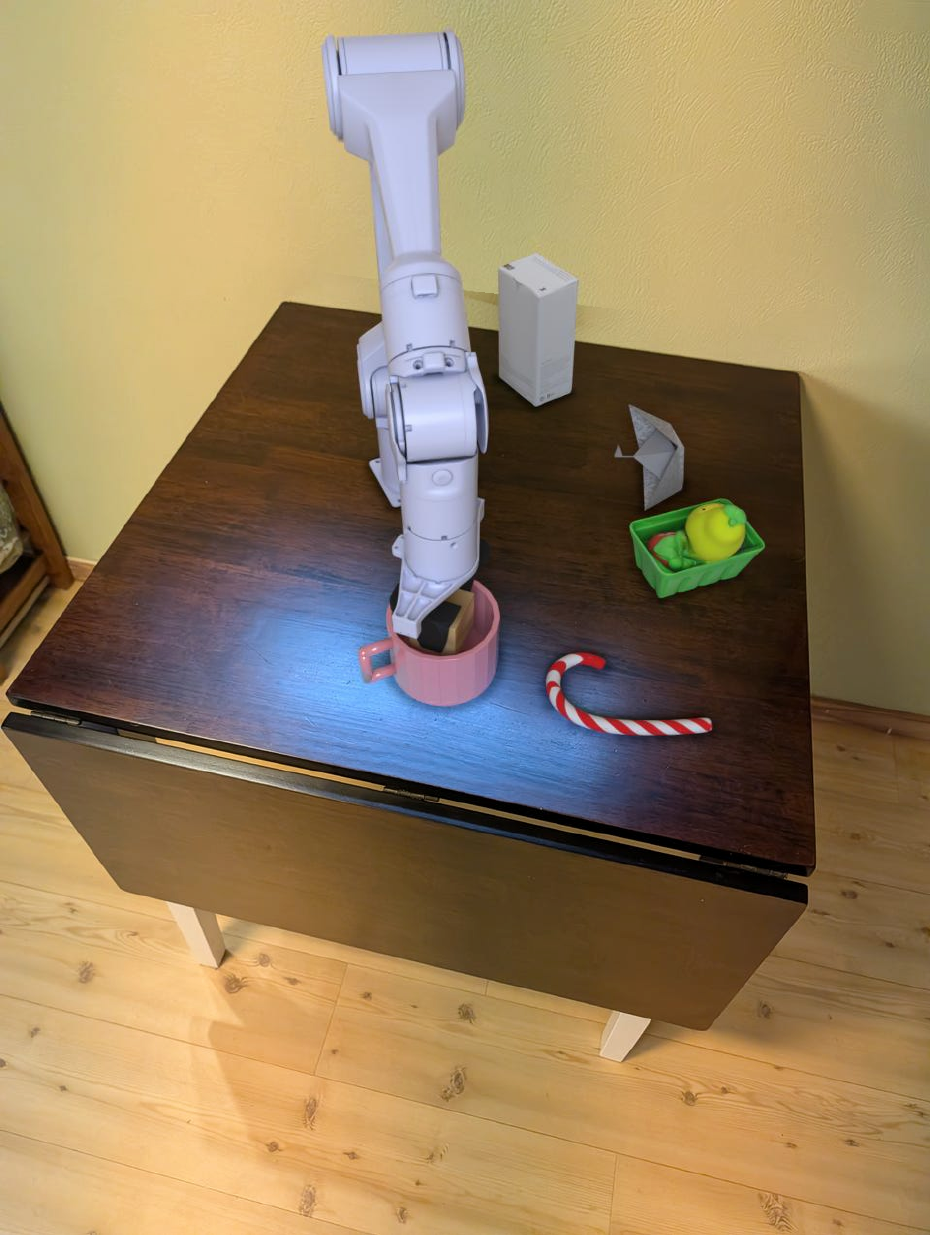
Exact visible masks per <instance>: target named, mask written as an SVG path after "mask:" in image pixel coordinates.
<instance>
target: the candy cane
mask: <svg viewBox="0 0 930 1235" xmlns="http://www.w3.org/2000/svg"><path fill="white" fill-rule="evenodd" d="M606 663H607V661H606V659H605V658H603V657H601V656H599V655H596V654H593V653H589V652H581V651H579V652H572V653H569V654H566V655H564V656H562V657H560V658H558V659H557V660H556V661H555V662H553V664H552V665H551V666H550V668H549V670H548V672H547V674H546V679H545V689H546V694H547V697H548V699H549V701H550V703H551V705H552V706H553V708H554V709H555V710H556V711H557V712H558V713H559V714H560V715H562V717H564V718H565V719H567V720H568V721H569V722H571V723H573V724H575V725H577V726H580V727H582V728H586V729H588V730H592V731H595V732H599V733H605V734H612V735H625V736H677V735H679V736H680V735H693V734H702V733H708V732H710V731H712V730H713V722H712V720H711V719H710V718H709V717H694V718H693V717H692V718H680V719H660V720H659V719H656V720H652V719H651V720H650V719H647V720H646V719H620V718H610V717H603V716H599V715H594V714H591V713H588V712H586V711H583V710H581V709H579V708H578V707H576V706H575V705H573V704H572V703H571V702H569V700H567V698H566V697H565V696H564V694H563V691H562V688H561V680H562V677H563V674H564V673H565V672H566V671H567V670H568V669H570V668H572V667H574V666H579V665H584V666H588V667H591V668H594V669H596V670H603V669H604V667H605V665H606Z"/></svg>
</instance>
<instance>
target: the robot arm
mask: <svg viewBox="0 0 930 1235" xmlns="http://www.w3.org/2000/svg"><path fill="white" fill-rule="evenodd" d="M335 38H336V39H335ZM461 41H462V40H460V37H459V36H458V35H457V34H456V33H455V31H454V30H453V29H452V28H444V29H443V30H442V31H427V32H426V31H425V32H406V33H386V34H367V35H366V34H365V35H348V36H347V35H346V36H336V37H335V34H327V35H326V36H325V40H323V42H322V43H321V44H320V52H321V60H322V70H323V78H324V87H325V96H326V102H327V104H326V105H327V113H328V121H329V130H330V131H331V132H332V135H333V136H334V137H336V142H339V143H342V144H343V148H344V151H345V152H346V153H348V154H350V155H353V156H355V157H357V158H359V159H360V160H363V161H366V162H367V164H368V173H369V174H368V175H369V186H370V197H371V198H370V199H371V209H372V221H373V232H374V243H375V255H376V267H377V278H378V286H377V287H378V296H379V303H380V305H379V306H380V311H381V312H380V314H381V321H380V322H379V323H377V324H376V325H375V326H373V327H372V328H370V329H369V330H368V331H366V332H364V333H363V334H362V335H361V336H360V337H359V338H358V343H357V344H356V351H357V352H356V353H357V360H356V364H357V365H356V366H357V372H358V382H359V389H360V399H361V407H362V414H363V415H364V416H365V417H367V419H368V420H372V419H374V420H375V427H376V431H377V432H376V433H377V441H378V454H379V458H375V459H372V460H370V461H369V462H368V466H369V468H370V469H371V471H372V473H373V475H374V476H375V479H376V481H377V482H378V484H379V486H380V487H381V489H382V491H383V492H384V494H385V496H386V497H387V499H388V501H389V503H390V505H391V506H392V507H394V508H399V507H400V510H401V511H400V512H401V521H402V522H401V524H402V534H400V535H399V536H397V538H396V539H395V541H394V543H393V544H392V545H391V554H392V555H393V556H394V557H396V558H399V559H401V566H400V576H399V577H400V578H399V582H398V583H397V584H396V586H395V587H394V588H393V591H392V593H391V594H390V596H389V600H388V602H389V603H390V608H391V610H392V611H393V612H394V613H393V615H392V622H393V631H394V632H396V633H399V634H402V635H405V636H408V637H412V638H415V639H417V641H418V643H419V645H420V646H421V647H422V648H425V649H428V650H431V651H434V652H437V653H442V651H443V649H444V647H445V645H446V643H447V639H448V634H449V628H450V626H451V625H452V624H453V622H454V621H455V619H456V617H457V615H458V613H459V611H460V609H461V607H462V606H460V605H457V604H454V603H450V602H447V601H444V600H445V599H446V598H448V597H449V596H450V595H451V594H452V593H453V592H455V591H456V590H457V589H461V590H465V591H468V592H471V589H472V586H473V583H474V580H476V576H477V574H478V572H479V571H480V569H481V568H482V567H483V566H484V565H485V563H486V561H487V559H488V557H489V555H490V553H491V544H490V542H489V541H487V540H486V539H483V538H481V537H480V532H481V522H482V520H483V519H484V516H485V499H484V498H481V497H478V488H479V487H478V486H479V484H478V481H479V449H480V451H481V453H482V454H485V453H486V452H487V448H488V442H489V441H488V440H489V430H490V429H489V426H490V425H489V407H488V399H487V393H486V388H485V385H484V381H483V377H482V375H481V371H480V368H479V362H478V357H477V354H476V351H472V348H471V340H470V339H471V338H470V333H469V324H468V316H467V307H466V300H465V291H464V285H463V277H462V275H461V272H460V271H459V269H458V268H457V267H456V266H454V265H453V264H452V263H451V262H449V261H448V260H447V259H446V258H445V257H444V256H443V255H442V238H441V237H442V235H441V232H442V230H441V210H440V207H441V206H440V185H439V184H440V183H439V182H440V181H439V159H438V158H439V157H440V156H441V155H442V154H444V153H445V152H446V151H448V150H449V149H451V148H452V147H453V146H455V144H456V138H457V132H458V130H459V128H460V126H461V125H462V124H463V122H464V120H465V114H466V93H467V92H466V68H465V59H464V58H465V57H464V50H463V45H462V42H461ZM477 442H478V444H477ZM478 446H479V448H478Z"/></svg>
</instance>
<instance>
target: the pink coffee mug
mask: <svg viewBox="0 0 930 1235" xmlns="http://www.w3.org/2000/svg"><path fill="white" fill-rule="evenodd" d="M471 592H472V593H474V625H473V627H472V629H471V631H470V633H469V635H468V637H467V639H466V641H465V643H464V645H463V647H462V649H461V651H460V653H459V654H457V655H449V656H439V655H436V654H433V653H429V652H426V651H423V650H420V649H417V648H414V647H411V646H410V641H409V637H408V636H405V635H402V634H399V633H396V632H394V631H393V622H392V615H393V613H394V612H393V611H392V610H391V608H390V602H389V603H388V605H387V609H386V612H385V620H386V631H387V637H386V638H383V639H380V640H378V641H375V642H372V643H369V644H366V645H363V646H360V647H359V648H358V650H357V656H358V661H359V667H360V674H361V679H362V682H363V683H364V684H366V685H369V684H372V683H375V682H377V681H380V680H383V679H386V678H389V677H392V676H393V677H394V680H395V682H396V684H397V685H398V687H399V688H400V689H401V690H402V691H403V692H404V693H405V694H406V695H407V696H409V697H410V698H412V699H414V700H415V701H418V702H420V703H423V704H425V705H429V706H435V707H453V706H458V705H462V704H465V703H468V702H470V701H472V700H473V699H475V698H477V697H479V696H481V694H483V693H484V692H485V691H486V690H487V688H488V687H490V685H491V684H492V682H493V680H494V678H495V676H496V672H497V667H498V661H499V646H500V645H499V643H500V628H501V627H500V624H501V615H500V609H499V604H498V602H497V600H496V599H495V597H494V595H493V594H492V592H491V591H490V590H489V589H488V588H487V587H486V586H484V585H483V584H482V583H480V582H479V581H478V580H476V579H474V583H473V586H472V589H471ZM388 651H389V658H390V663H389V664H387V665H385V666H382V667H378V668H375V669H373V664H372V658H371V657H372V656H375V655H378V654H381V653H384V652H388Z"/></svg>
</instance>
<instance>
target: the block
mask: <svg viewBox="0 0 930 1235" xmlns="http://www.w3.org/2000/svg"><path fill="white" fill-rule="evenodd" d="M444 601H447V602H450V603H454V604H457V605H460V606H462V607H461V609H460V611H459V613H458V615H457V617H456V619H455V621H454V622H453V624H452V625H451V626H450V628H449V634H448V639H447V643H446V645H445V647H444V649H443V651H442V653H437V652H434V651H431V650H428V649H425V648H422V647H421V646H420V645H419V643H418V641H417V639H415V638H412V637H409V641H410V646H411V647H414V648H417V649H420V650H423V651H426V652H429V653H433V654H436V655H439V656H449V655H457V654H459V653H460V651H461V649H462V647H463V645H464V643H465V641H466V639H467V637H468V635H469V633H470V631H471V629H472V627H473V625H474V593H472V592H468V591H465V590H461V589H457V590H456V591H455V592H453V593H452V594H451V595H450V596H449V597H448V598H446V599H445V600H444Z"/></svg>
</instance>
